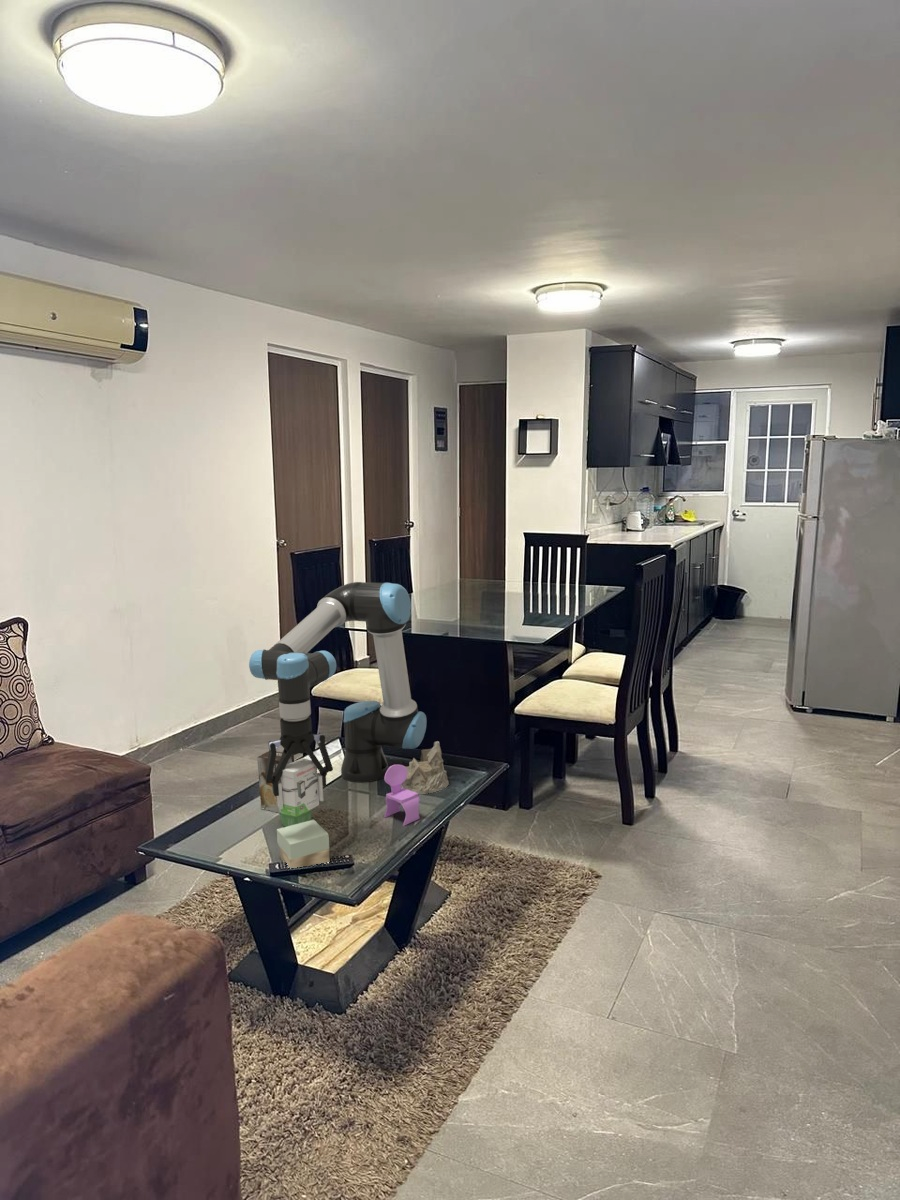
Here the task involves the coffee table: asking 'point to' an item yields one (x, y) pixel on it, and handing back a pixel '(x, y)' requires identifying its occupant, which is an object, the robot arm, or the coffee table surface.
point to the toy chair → (400, 795)
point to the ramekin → (295, 818)
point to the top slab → (302, 839)
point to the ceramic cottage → (426, 772)
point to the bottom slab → (306, 859)
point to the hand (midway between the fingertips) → (300, 803)
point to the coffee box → (266, 788)
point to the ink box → (299, 787)
